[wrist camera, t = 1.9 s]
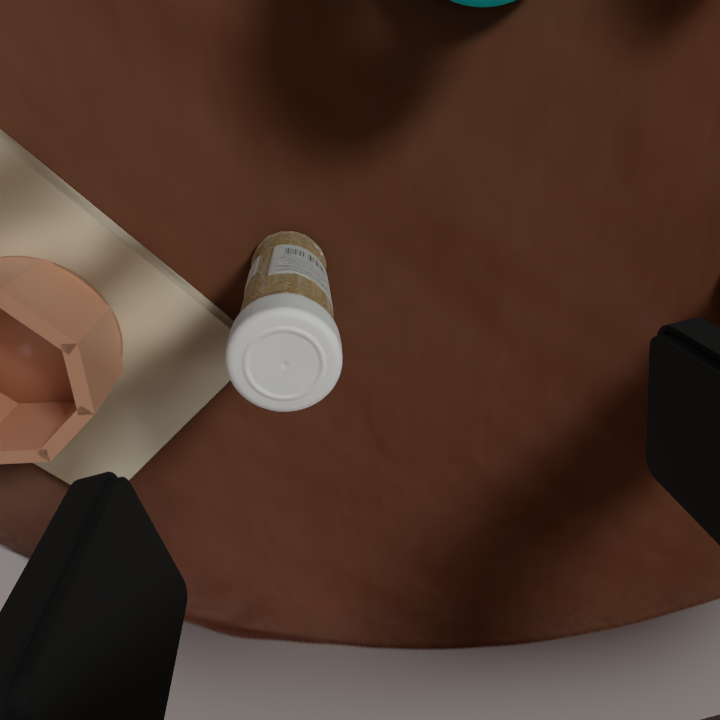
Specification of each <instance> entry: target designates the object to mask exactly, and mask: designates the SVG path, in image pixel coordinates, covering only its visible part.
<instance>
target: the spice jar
mask: <svg viewBox="0 0 720 720" xmlns="http://www.w3.org/2000/svg"><path fill="white" fill-rule="evenodd" d="M225 364H226V369H227V373H228V376H229V378H230V380H231V382H232V384H233V386H234V387H235V388H236V390H237V391H238V392H239V393H240V394H241V395H242V396H243V397H244V398H246V399H247V400H248V401H250V402H251V403H253V404H255V405H257V406H259V407H262V408H264V409H268V410H272V411H279V412H289V411H297V410H301V409H304V408H307V407H310V406H312V405H314V404H316V403H317V402H319V401H320V400H322V399H323V398H324V397H325V396H326V395H328V394H329V392H330V391H331V390H332V389H333V387H334V386H335V384H336V382H337V380H338V378H339V376H340V372H341V368H342V346H341V340H340V335H339V331H338V328H337V326H336V324H335V322H334V320H333V307H332V301H331V295H330V288H329V283H328V278H327V274H326V261H325V257H324V255H323V252H322V250H321V249H320V247H319V246H318V245H317V244H316V243H315V242H314V241H313V240H311V239H310V238H309V237H308V236H306V235H304V234H301V233H298V232H294V231H284V232H282V231H281V232H278V233H275V234H272V235H269V236H268V237H266V238H265V239H264V240H263V241H262V242H261V243H260V244H259V245H258V247H257V249H256V250H255V252H254V255H253V257H252V262H251V269H250V272H249V275H248V279H247V283H246V287H245V291H244V299H243V303H242V307H241V310H240V313H239V315H238V316H237V317H236V319H235V321H234V323H233V325H232V327H231V330H230V334H229V337H228V342H227V346H226V353H225Z"/></svg>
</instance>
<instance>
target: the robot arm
mask: <svg viewBox="0 0 720 720" xmlns="http://www.w3.org/2000/svg"><path fill="white" fill-rule="evenodd" d="M646 460H647V465H648V467H649V470H650V472H651V474H652V475H653V477H654V478H655V479H656V480H657V481H658V482H659V483H660V484H661V485H662V486H663V487H664V488H665V489H666V490H667V491H668V492H669V494H670V495H671V496H672V497H673V498H674V499H675V500H676V501H677V502H678V503H679V504H680V505H681V506H682V507H683V508H684V509H685V510H686V511H687V512H688V513H689V514H690V515H691V516H692V517H693V518H694V519H695V520H696V521H697V522H698V523H699V525H700V526H701V527H702V528H703V529H704V530H705V531H706V532H707V533H708V534H709V535H710V536H711V537H712V538H713V539H714V540H715V541H716V542H717V543H718V544H719V545H720V328H719V327H717V326H715V325H714V324H712V323H710V322H708V321H706V320H704V319H701V318H691V319H688V320H684V321H680V322H676V323H672V324H669V325H665V326H663V327H661V328H660V330H659V331H658V334H657V336H656V337H654V338H652V340H651V342H650V353H649V385H648V416H647V448H646ZM186 604H187V589H186V585H185V582H184V579H183V577H182V576H181V574H180V572H179V570H178V568H177V567H176V565H175V563H174V561H173V559H172V558H171V556H170V554H169V552H168V550H167V549H166V547H165V545H164V543H163V541H162V539H161V538H160V536H159V534H158V532H157V530H156V529H155V527H154V525H153V523H152V521H151V520H150V518H149V516H148V514H147V512H146V511H145V509H144V507H143V505H142V503H141V502H140V500H139V498H138V496H137V494H136V492H135V491H134V489H133V487H132V485H131V483H130V482H129V481H128V479H127V478H125V477H117V475H116V474H114V473H113V472H109V471H108V472H104V473H100V474H97V475H93V476H89V477H85V478H81V479H78V480H76V481H74V482H73V483H72V484H71V486H70V488H69V489H68V491H67V493H66V495H65V497H64V498H63V500H62V502H61V504H60V506H59V507H58V509H57V511H56V513H55V515H54V516H53V518H52V520H51V522H50V524H49V525H48V527H47V529H46V531H45V533H44V534H43V536H42V538H41V540H40V542H39V543H38V545H37V547H36V549H35V551H34V552H33V554H32V556H31V558H30V559H29V561H28V563H27V565H26V567H25V568H24V570H23V572H22V574H21V576H20V577H19V579H18V581H17V583H16V585H15V586H14V588H13V590H12V592H11V594H10V595H9V597H8V599H7V601H6V603H5V604H4V606H3V608H2V610H1V612H0V720H164V716H165V711H166V706H167V701H168V696H169V691H170V685H171V681H172V675H173V670H174V665H175V660H176V655H177V649H178V645H179V640H180V635H181V630H182V625H183V620H184V615H185V610H186ZM702 720H720V715H717V716H714V717H709V718H705V719H702Z"/></svg>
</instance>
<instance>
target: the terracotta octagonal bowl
mask: <svg viewBox="0 0 720 720" xmlns="http://www.w3.org/2000/svg"><path fill="white" fill-rule="evenodd" d="M122 354H123V341H122V333H121V330H120V326H119V323H118V321H117V318H116V316H115V314H114V312H113V311H112V309H111V307H110V305H109V304H108V303H107V301H106V300H105V299H104V297H103V296H102V295H101V294H100V293H99V292H98V291H97V290H96V289H95V288H94V287H93V286H92V285H91V284H90V283H88V282H87V281H86V280H85V279H83V278H82V277H80V276H79V275H78V274H76V273H75V272H73V271H71V270H69V269H67V268H65V267H63V266H61V265H58V264H56V263H53V262H51V261H48V260H47V259H40V258H35V257H29V256H2V257H0V464H16V463H38V462H51V461H52V459H53V458H54V457H55V456H56V455H57V454H58V453H59V452H60V451H61V450H62V449H63V448H64V447H65V446H66V445H67V444H68V442H69V441H70V440H71V439H72V438H73V437H74V436H75V435H76V434H77V433H78V432H79V431H80V430H81V429H82V428H83V426H84V425H85V424H86V423H87V422H88V421H89V420H90V419H91V418H92V417H93V416H94V415H95V414H96V412H97V411H98V409H99V407H100V406H101V404H102V403H103V401H104V400H105V398H106V397H107V395H108V394H109V392H110V391H111V389H112V388H113V386H114V385H115V383H116V381H117V380H118V378H119V377H120V375H121V374H122V372H123V371H124V369H123V364H122Z"/></svg>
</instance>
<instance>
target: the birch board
mask: <svg viewBox="0 0 720 720" xmlns="http://www.w3.org/2000/svg"><path fill="white" fill-rule="evenodd" d="M2 256H29V257H35V258H40V259H47V260H48V261H51V262H53V263H56V264H58V265H61V266H63V267H65V268H67V269H69V270H71V271H73V272H75V273H76V274H78V275H79V276H80V277H82V278H83V279H85V280H86V281H87V282H88V283H90V284H91V285H92V286H93V287H94V288H95V289H96V290H97V291H98V292H99V293H100V294H101V295H102V296H103V297H104V299H105V300H106V301H107V303H108V304H109V305H110V307H111V309H112V311H113V312H114V314H115V316H116V318H117V321H118V323H119V326H120V330H121V333H122V341H123V354H122V364H123V369H124V371H123V372H122V374H121V375H120V377H119V378H118V380H117V381H116V383H115V385H114V386H113V388H112V389H111V391H110V392H109V394H108V395H107V397H106V398H105V400H104V401H103V403H102V404H101V406H100V407H99V409H98V411H97V412H96V414H95V415H94V416H93V417H92V418H91V419H90V420H89V421H88V422H87V423H86V424H85V425H84V426H83V428H82V429H81V430H80V431H79V432H78V433H77V434H76V435H75V436H74V437H73V438H72V439H71V440H70V441H69V442H68V444H67V445H66V446H65V447H64V448H63V449H62V450H61V451H60V452H59V453H58V454H57V455H56V456H55V457H54V458H53V459H52V461H51V462H38V463H34V464H36V465H37V466H39V467H41V468H42V469H44V470H46V471H48V472H49V473H51V474H53V475H54V476H56V477H58V478H59V479H61V480H63V481H65V482H66V483H68V484H70V485H71V484H72V483H73V482H74V481H76V480H78V479H81V478H85V477H89V476H93V475H97V474H100V473H104V472H108V471H109V472H113V473H114V474H116V475H117V477H125V478H127V479H128V481H129V480H130V479H131V478H132V477H133V476H134V475H135V474H136V473H137V472H138V471H139V470H140V469H141V468H142V467H143V466H144V465H145V464H146V463H147V462H148V461H149V460H150V459H151V458H152V457H153V456H154V455H155V454H156V453H157V452H158V451H159V450H160V449H161V448H162V447H163V446H164V445H165V444H166V443H167V442H168V441H169V440H170V439H171V438H172V437H173V436H174V435H175V434H176V433H177V432H178V431H179V430H180V429H181V428H182V427H183V426H184V425H185V424H186V423H187V422H188V421H189V420H190V419H191V418H192V417H193V416H194V415H195V414H196V413H197V412H198V411H199V410H200V409H202V408H203V407H204V406H205V405H206V404H207V403H208V402H209V401H210V400H211V399H212V398H213V397H214V396H215V395H216V394H217V393H218V392H219V391H220V390H221V389H222V388H223V387H224V386H225V385H226V384H227V383H228V382H229V381H230V378H229V376H228V373H227V369H226V364H225V353H226V346H227V342H228V337H229V334H230V330H231V327H232V325H233V323H234V320H233V319H231V318H230V317H229V316H228V315H227V314H225V313H224V312H223V311H222V310H220V309H219V308H218V307H217V306H216V305H214V304H213V303H212V302H211V301H210V300H208V299H207V298H206V297H205V296H203V295H202V294H201V293H200V292H199V291H197V290H196V289H195V288H194V287H192V286H191V285H190V284H189V283H188V282H186V281H185V280H184V279H183V278H182V277H180V276H179V275H178V274H177V273H175V272H174V271H173V270H172V269H171V268H169V267H168V266H167V265H166V264H164V263H163V262H162V261H161V260H160V259H158V258H157V257H156V256H155V255H154V254H152V253H151V252H150V251H149V250H147V249H146V248H145V247H144V246H143V245H141V244H140V243H139V242H138V241H136V240H135V239H134V238H133V237H132V236H130V235H129V234H128V233H127V232H125V231H124V230H123V229H122V228H121V227H119V226H118V225H117V224H116V223H115V222H113V221H112V220H111V219H110V218H108V217H107V216H106V215H105V214H104V213H102V212H101V211H100V210H99V209H97V208H96V207H95V206H94V205H93V204H91V203H90V202H89V201H88V200H87V199H85V198H84V197H83V196H82V195H80V194H79V193H78V192H77V191H76V190H74V189H73V188H72V187H71V186H69V185H68V184H67V183H66V182H65V181H63V180H62V179H61V178H60V177H59V176H57V175H56V174H55V173H54V172H52V171H51V170H50V169H49V168H48V167H46V166H45V165H44V164H43V163H41V162H40V161H39V160H38V159H37V158H35V157H34V156H33V155H32V154H31V153H29V152H28V151H27V150H26V149H24V148H23V147H22V146H21V145H20V144H18V143H17V142H16V141H15V140H13V139H12V138H11V137H10V136H9V135H7V134H6V133H5V132H4V131H3V130H1V129H0V257H2Z"/></svg>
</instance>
